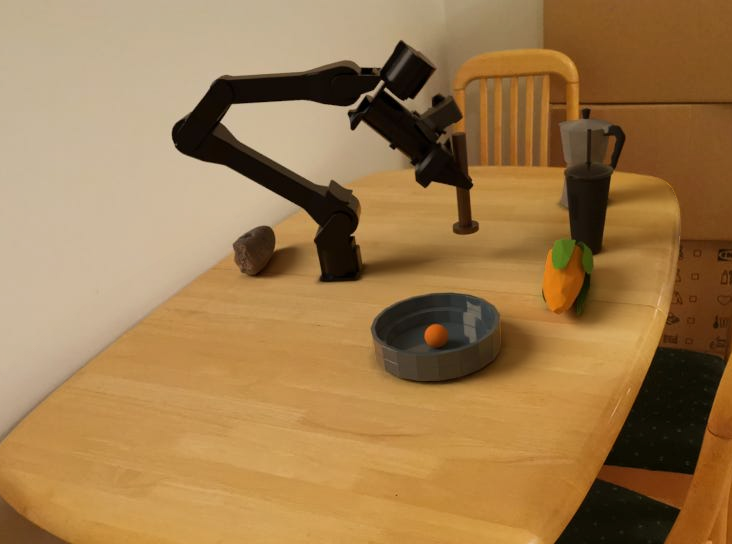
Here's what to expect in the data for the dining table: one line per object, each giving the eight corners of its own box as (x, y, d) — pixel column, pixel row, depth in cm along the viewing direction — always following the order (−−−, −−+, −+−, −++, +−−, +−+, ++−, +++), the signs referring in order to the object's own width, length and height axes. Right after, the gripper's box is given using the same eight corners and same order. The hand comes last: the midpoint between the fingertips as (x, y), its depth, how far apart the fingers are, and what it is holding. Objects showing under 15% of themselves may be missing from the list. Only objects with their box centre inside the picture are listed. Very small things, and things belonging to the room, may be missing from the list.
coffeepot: (542, 203, 139) (541, 110, 130) (574, 190, 143) (575, 100, 134) (605, 218, 128) (608, 118, 119) (637, 204, 132) (642, 106, 123)
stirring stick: (451, 235, 115) (443, 138, 107) (454, 226, 119) (446, 131, 110) (478, 234, 114) (471, 135, 106) (479, 224, 118) (473, 128, 109)
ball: (424, 352, 93) (421, 331, 91) (427, 340, 96) (424, 320, 94) (447, 352, 92) (445, 331, 91) (450, 340, 95) (448, 319, 93)
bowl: (364, 385, 89) (359, 356, 87) (387, 321, 103) (383, 294, 101) (499, 383, 86) (497, 352, 83) (503, 318, 100) (501, 290, 98)
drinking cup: (611, 258, 113) (616, 133, 103) (563, 259, 115) (563, 137, 104) (609, 240, 119) (613, 121, 109) (563, 242, 121) (564, 125, 111)
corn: (594, 224, 106) (587, 281, 89) (596, 270, 109) (590, 332, 93) (545, 228, 108) (530, 284, 92) (549, 273, 112) (535, 333, 96)
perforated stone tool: (263, 248, 136) (255, 215, 132) (288, 248, 135) (281, 214, 131) (231, 281, 124) (222, 245, 120) (258, 281, 122) (249, 244, 119)
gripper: (429, 92, 96) (512, 161, 101) (427, 70, 112) (498, 131, 117) (381, 155, 101) (462, 219, 106) (385, 126, 117) (455, 182, 122)
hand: (471, 185), depth 112 cm, fingers closed on stirring stick, 2 cm apart
